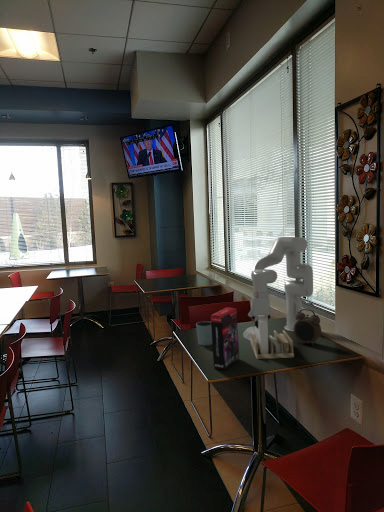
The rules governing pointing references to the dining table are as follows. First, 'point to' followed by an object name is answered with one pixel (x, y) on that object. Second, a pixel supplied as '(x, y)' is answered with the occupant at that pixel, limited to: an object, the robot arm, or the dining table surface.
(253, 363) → the dining table surface
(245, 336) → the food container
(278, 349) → the sage offcut
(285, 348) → the plywood offcut
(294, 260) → the robot arm
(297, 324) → the alarm clock
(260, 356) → the rack
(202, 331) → the grey cylindrical cup
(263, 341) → the white rectangular block
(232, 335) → the graphics card box
